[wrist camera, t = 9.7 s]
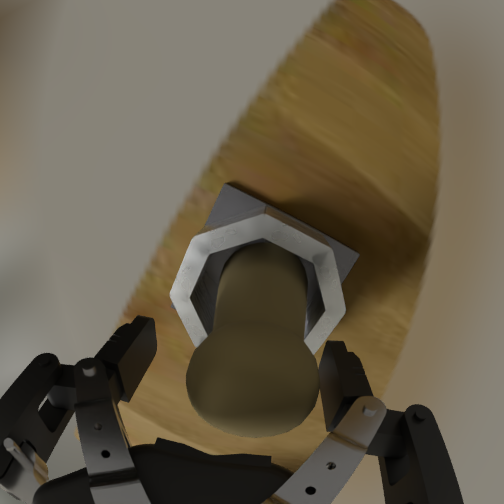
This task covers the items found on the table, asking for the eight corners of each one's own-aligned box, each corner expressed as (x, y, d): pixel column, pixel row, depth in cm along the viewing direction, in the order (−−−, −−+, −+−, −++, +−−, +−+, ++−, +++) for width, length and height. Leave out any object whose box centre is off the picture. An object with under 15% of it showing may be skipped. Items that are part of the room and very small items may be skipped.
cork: (212, 246, 18) (140, 350, 8) (305, 238, 17) (344, 344, 7) (227, 324, 20) (190, 450, 9) (309, 318, 19) (330, 450, 9)
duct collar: (287, 355, 21) (288, 386, 18) (173, 303, 20) (156, 328, 17) (357, 251, 18) (374, 271, 14) (226, 182, 17) (213, 187, 14)
